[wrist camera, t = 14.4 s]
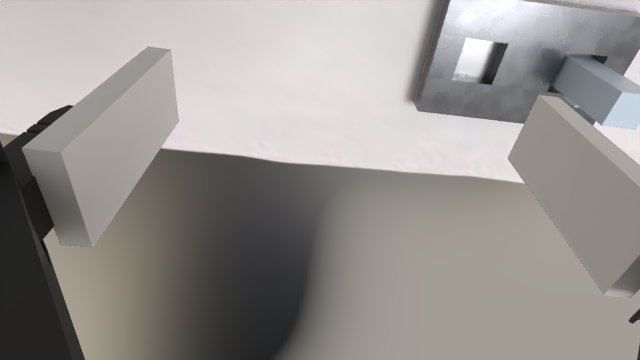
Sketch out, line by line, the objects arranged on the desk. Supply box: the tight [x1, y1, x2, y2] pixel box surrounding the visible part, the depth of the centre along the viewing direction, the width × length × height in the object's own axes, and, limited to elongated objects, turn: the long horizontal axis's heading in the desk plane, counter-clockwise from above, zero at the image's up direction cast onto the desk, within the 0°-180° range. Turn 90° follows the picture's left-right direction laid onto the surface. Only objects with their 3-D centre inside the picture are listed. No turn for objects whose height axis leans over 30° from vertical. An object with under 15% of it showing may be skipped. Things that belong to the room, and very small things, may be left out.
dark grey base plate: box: [414, 0, 640, 126], centre depth 46 cm, size 14×23×3 cm, turn 83°
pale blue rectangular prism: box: [551, 53, 640, 129], centre depth 43 cm, size 4×4×12 cm
